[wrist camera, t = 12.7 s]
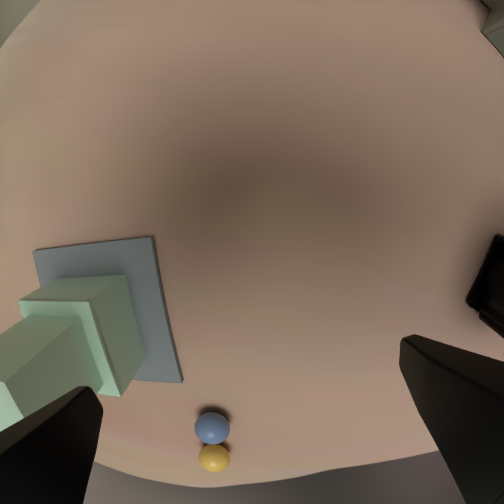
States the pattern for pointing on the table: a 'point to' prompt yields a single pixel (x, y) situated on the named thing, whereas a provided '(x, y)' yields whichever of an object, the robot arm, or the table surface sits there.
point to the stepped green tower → (69, 344)
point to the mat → (140, 287)
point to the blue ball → (212, 428)
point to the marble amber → (214, 458)
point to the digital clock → (495, 24)
